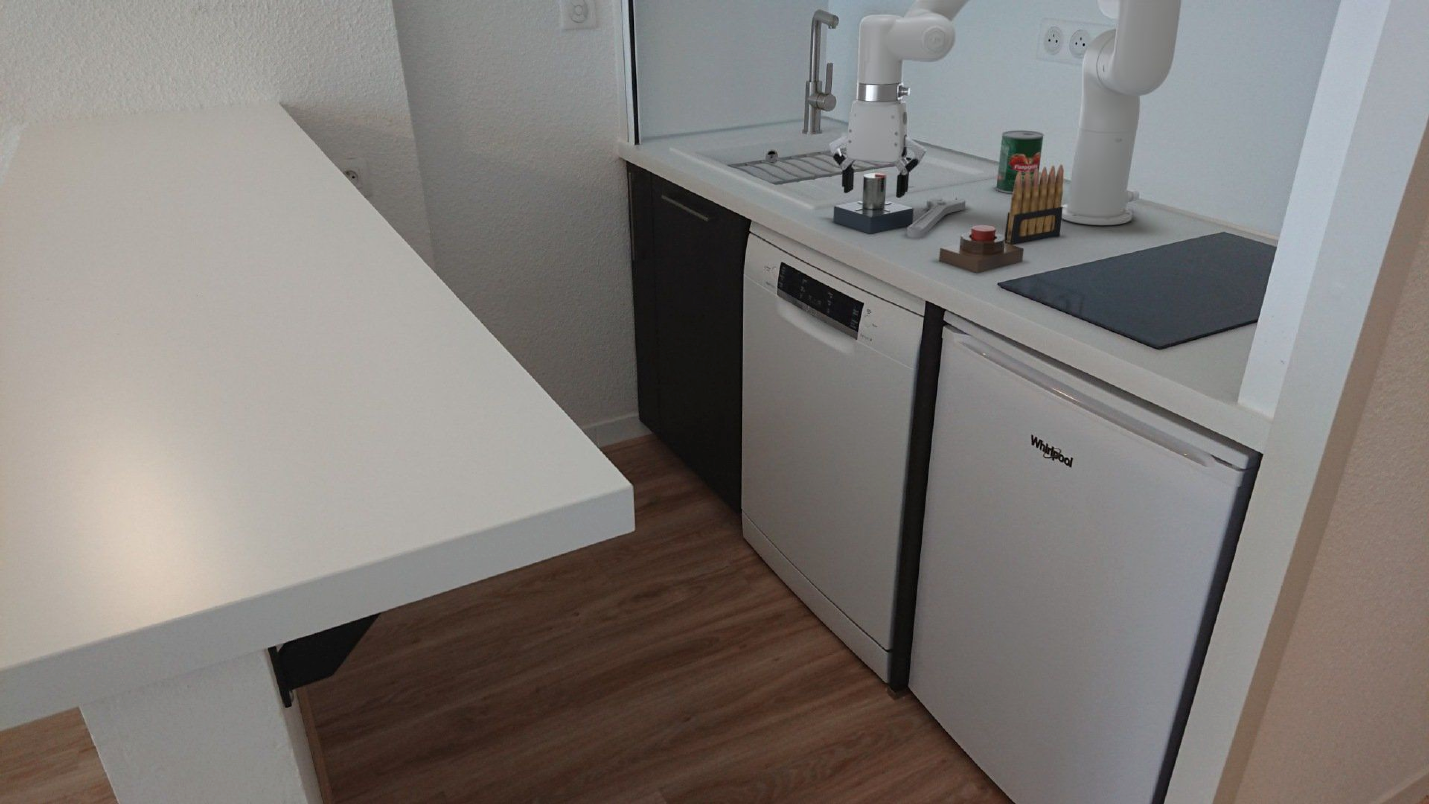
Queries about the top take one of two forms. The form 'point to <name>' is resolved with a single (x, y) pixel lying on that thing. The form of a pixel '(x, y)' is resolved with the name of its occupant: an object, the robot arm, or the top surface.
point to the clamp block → (873, 216)
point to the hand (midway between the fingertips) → (874, 193)
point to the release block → (981, 253)
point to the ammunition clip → (1035, 207)
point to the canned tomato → (1018, 157)
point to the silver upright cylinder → (874, 191)
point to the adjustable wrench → (934, 215)
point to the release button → (983, 232)
